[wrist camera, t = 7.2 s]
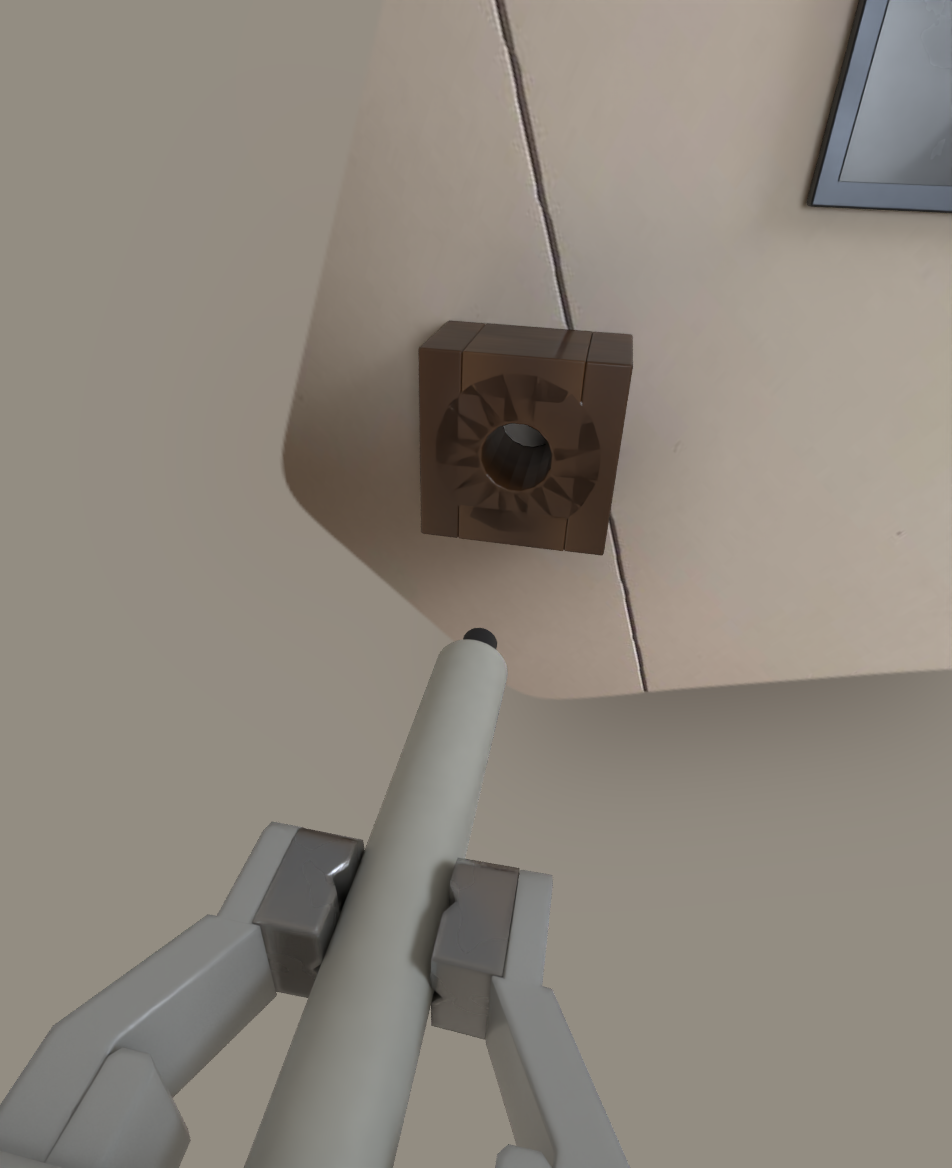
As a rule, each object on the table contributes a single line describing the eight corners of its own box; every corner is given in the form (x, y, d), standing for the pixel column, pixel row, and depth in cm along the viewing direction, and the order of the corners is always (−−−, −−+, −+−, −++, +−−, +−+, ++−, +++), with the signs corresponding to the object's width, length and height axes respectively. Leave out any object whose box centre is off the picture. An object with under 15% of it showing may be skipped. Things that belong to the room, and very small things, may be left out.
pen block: (446, 487, 34) (420, 533, 30) (447, 320, 30) (417, 347, 25) (606, 505, 33) (603, 556, 29) (632, 334, 28) (633, 365, 24)
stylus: (447, 661, 16) (6, 1890, 5) (447, 607, 16) (-88, 1949, 4) (512, 671, 16) (215, 1983, 5) (516, 617, 15) (162, 2070, 4)
